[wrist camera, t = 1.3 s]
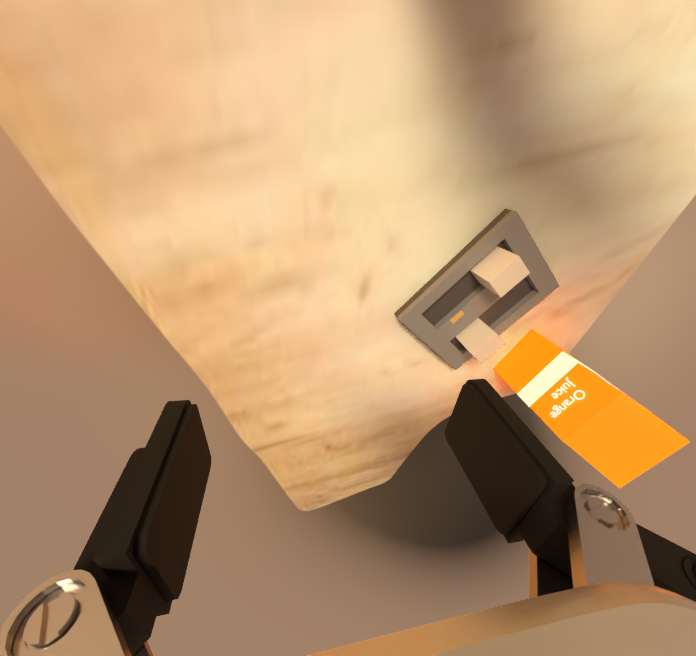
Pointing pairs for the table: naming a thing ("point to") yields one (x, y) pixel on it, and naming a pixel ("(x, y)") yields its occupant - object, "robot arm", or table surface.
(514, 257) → the tab
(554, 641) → the robot arm
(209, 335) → the table surface
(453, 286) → the switch board
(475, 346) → the tab
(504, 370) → the orange juice
